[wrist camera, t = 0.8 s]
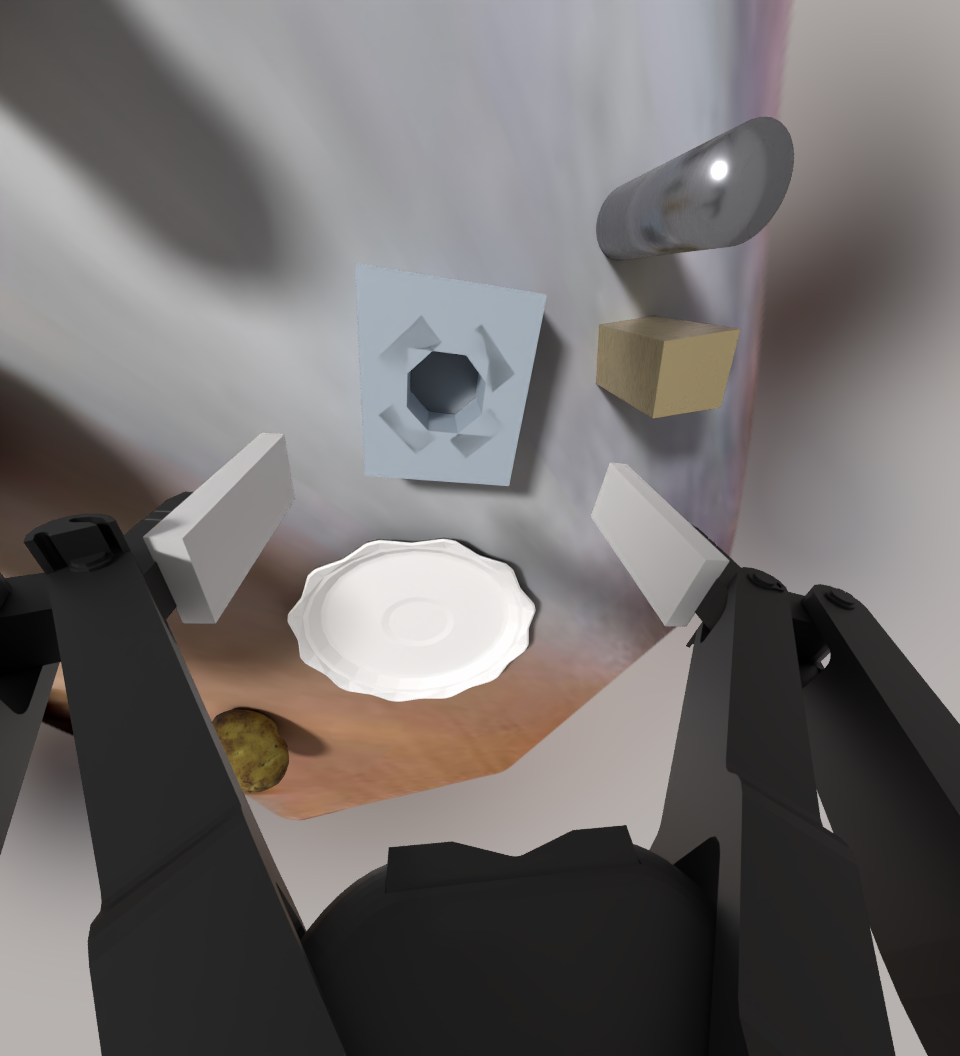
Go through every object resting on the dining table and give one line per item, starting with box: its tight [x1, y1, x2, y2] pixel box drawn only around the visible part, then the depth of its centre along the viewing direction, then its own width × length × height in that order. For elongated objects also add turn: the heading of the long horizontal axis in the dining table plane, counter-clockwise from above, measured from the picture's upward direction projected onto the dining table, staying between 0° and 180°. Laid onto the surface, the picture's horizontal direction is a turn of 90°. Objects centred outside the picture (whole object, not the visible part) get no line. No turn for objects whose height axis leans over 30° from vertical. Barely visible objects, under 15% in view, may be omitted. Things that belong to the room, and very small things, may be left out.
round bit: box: [596, 117, 794, 260], centre depth 21 cm, size 4×4×12 cm
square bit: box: [596, 316, 741, 418], centre depth 27 cm, size 5×5×10 cm
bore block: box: [355, 263, 547, 486], centre depth 28 cm, size 14×12×5 cm
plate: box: [288, 538, 535, 702], centre depth 46 cm, size 29×29×2 cm
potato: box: [212, 709, 289, 793], centre depth 52 cm, size 8×13×8 cm, turn 6°
